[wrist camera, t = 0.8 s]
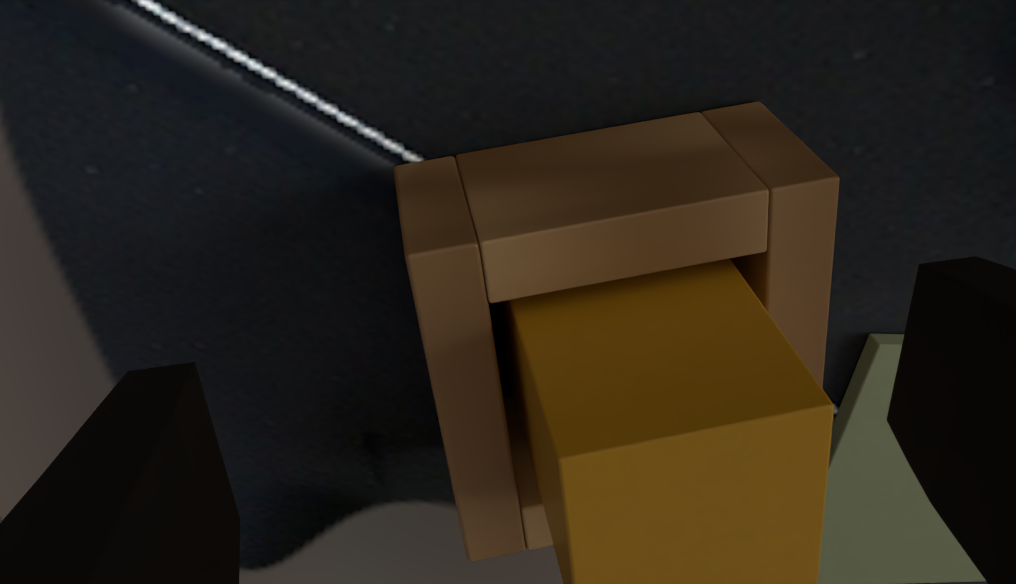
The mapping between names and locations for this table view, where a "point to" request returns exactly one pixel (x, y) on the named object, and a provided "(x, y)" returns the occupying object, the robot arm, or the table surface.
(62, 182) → the table surface
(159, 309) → the table surface
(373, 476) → the table surface
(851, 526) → the mat
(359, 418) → the table surface
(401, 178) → the stand
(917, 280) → the robot arm
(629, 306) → the block
